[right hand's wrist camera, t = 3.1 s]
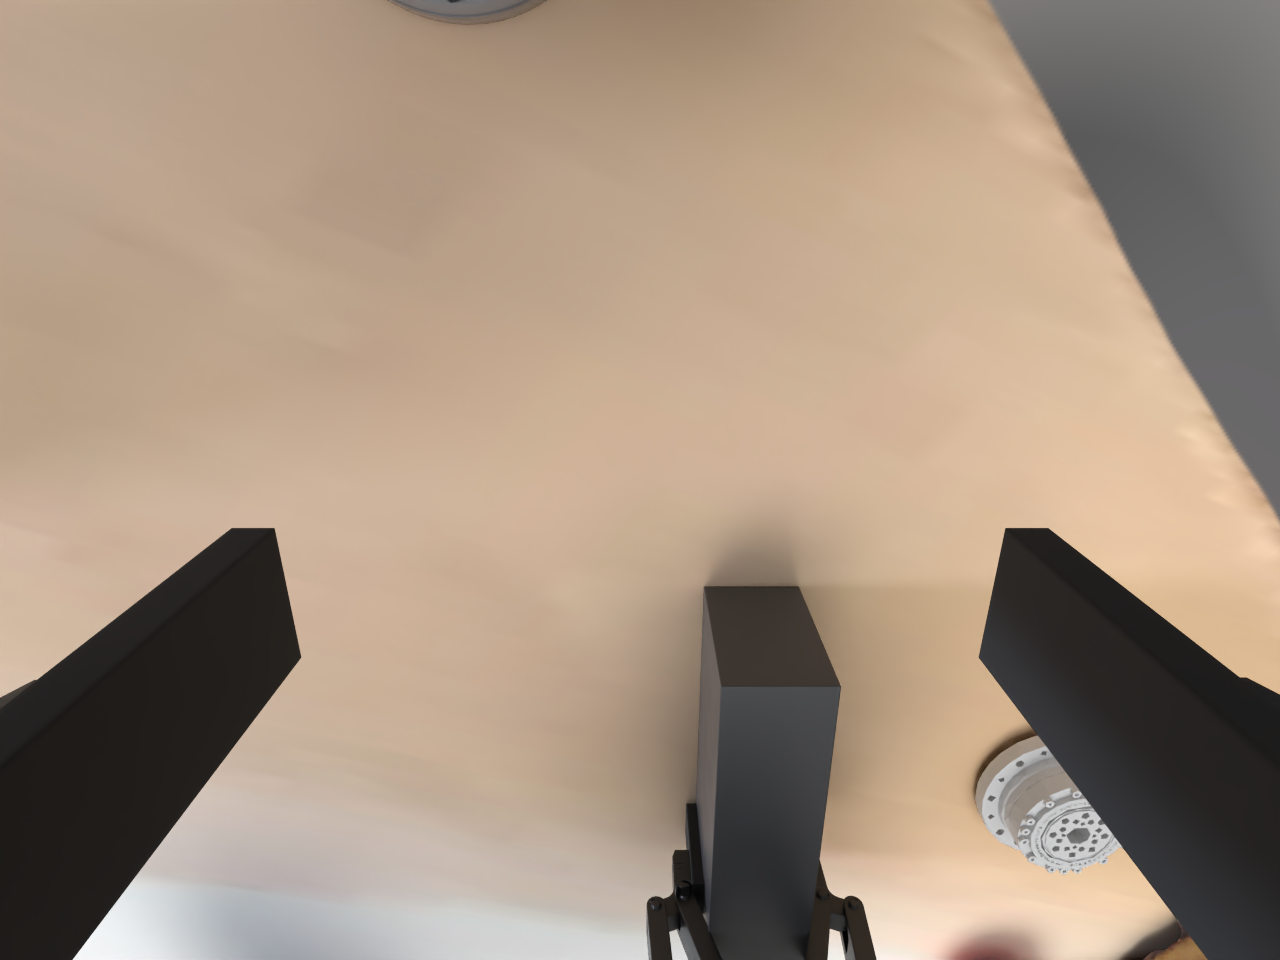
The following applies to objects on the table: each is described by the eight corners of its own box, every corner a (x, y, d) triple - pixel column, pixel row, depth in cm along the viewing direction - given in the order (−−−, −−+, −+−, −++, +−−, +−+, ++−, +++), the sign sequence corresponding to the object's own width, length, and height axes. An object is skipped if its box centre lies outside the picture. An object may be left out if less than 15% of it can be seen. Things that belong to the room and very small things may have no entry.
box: (703, 586, 45) (720, 686, 35) (798, 586, 45) (841, 686, 35) (694, 847, 53) (705, 985, 44) (774, 847, 53) (803, 985, 44)
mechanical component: (960, 834, 52) (1093, 838, 52) (988, 888, 48) (1131, 891, 48) (989, 727, 49) (1131, 731, 49) (1021, 775, 45) (1176, 779, 45)
